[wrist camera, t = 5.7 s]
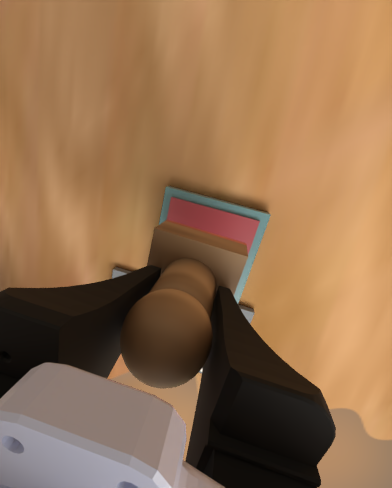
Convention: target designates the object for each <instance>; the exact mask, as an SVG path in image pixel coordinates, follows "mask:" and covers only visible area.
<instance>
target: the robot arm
mask: <svg viewBox="0 0 392 488" xmlns="http://www.w3.org/2000/svg"><path fill="white" fill-rule="evenodd" d="M160 273H161V268H159V267H156V266H153V265H149V266H146V267H144V268H141V269H139V270H136V271H133V272H131V273H128V274H125V275H122V276H119V277H115V278H112V279H109V280H105V281H101V282H96V283H91V284H85V285H77V286H70V287H58V288H7V289H5V290H3V291H1V292H0V488H317V487H319V486H320V485H321V479H320V476H319V473H318V469H317V464H318V462H319V461H320V460H321V459H322V457H323V456H324V454H325V453H326V452H327V450H328V449H329V448H330V446H331V445H332V442H333V440H334V438H335V430H336V428H335V425H334V422H333V419H332V416H331V414H330V411H329V409H328V406H327V404H326V401H325V399H324V397H323V395H322V393H321V391H320V389H319V388H318V387H316V386H315V385H314V384H312V383H311V382H310V381H308V380H307V379H306V378H304V377H303V376H302V375H300V374H299V373H298V372H296V371H295V370H294V369H293V368H292V367H290V366H289V365H288V364H287V363H286V362H285V361H283V360H282V359H281V358H280V357H279V356H278V355H277V354H276V353H275V352H274V351H273V350H272V349H271V348H270V347H269V346H268V345H267V344H266V343H265V342H264V341H263V340H262V339H261V337H260V336H259V335H258V334H257V332H256V331H255V330H254V329H253V327H252V326H251V325H250V323H249V322H248V320H247V319H246V317H245V316H244V314H243V313H242V311H241V309H240V307H239V306H238V304H237V302H236V300H235V298H234V296H233V294H232V292H231V290H230V289H229V288H226V287H223V286H219V287H218V290H217V293H216V296H215V300H214V303H213V309H212V315H211V320H210V321H211V326H212V334H213V338H212V347H211V351H210V354H209V356H208V359H207V361H206V363H205V364H204V366H203V370H202V378H201V384H200V389H199V395H198V400H197V406H196V411H195V416H194V422H193V427H192V431H191V436H190V442H189V446H188V451H187V457H186V461H183V455H184V450H185V443H186V424H185V422H184V421H183V419H182V418H181V417H180V415H179V414H178V413H177V411H176V410H175V409H174V407H173V406H172V405H171V404H169V403H167V402H165V401H164V400H162V399H160V398H158V397H157V396H155V395H152V394H150V393H147V392H144V391H141V390H138V389H135V388H132V387H130V386H127V385H124V384H121V383H118V382H115V381H112V380H110V379H107V378H108V376H109V374H110V372H111V370H112V368H113V366H114V365H115V363H116V361H117V359H118V357H119V356H120V354H121V348H120V335H121V329H122V325H123V322H124V320H125V318H126V315H127V314H128V312H129V311H130V309H131V308H132V307H133V305H134V304H135V303H136V302H137V301H138V300H140V299H141V298H142V297H144V296H145V295H147V294H148V293H149V292H150V290H151V289H152V287H153V286H154V285H155V283H156V282H157V281H158V279H159V278H160Z"/></svg>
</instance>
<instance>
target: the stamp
mask: <svg viewBox="0 0 392 488" xmlns="http://www.w3.org/2000/svg"><path fill="white" fill-rule="evenodd" d="M247 259H248V252H247V244H246V243H244V242H241V241H237V240H234V239H231V238H227V237H224V236H221V235H217V234H214V233H211V232H207V231H204V230H201V229H197V228H194V227H191V226H188V225H184V224H181V223H178V222H174V221H171V220H168V219H167V220H165V221H164V222H163V223H161V224H160V225H158V226H157V227H156V228H155V229H154V234H153V239H152V244H151V249H150V254H149V259H148V264H147V266H149V265H153V266H156V267H159V268H161V273H160V278H159V279H158V281H157V282H156V283H155V285H154V286H153V287H152V289H151V290H150V292H149V293H148V294H147V295H145V296H144V297H142V298H141V299H140V300H138V301H137V302H136V303H135V304H134V305H133V307H132V308H131V309H130V311H129V312H128V314H127V315H126V318H125V320H124V322H123V325H122V329H121V335H120V348H121V353H122V357H123V359H124V362H125V364H126V366H127V368H128V369H129V371H130V372H131V373H132V374H133V375H134V376H135V377H136V378H137V379H138V380H139V381H141V382H143V383H144V384H146V385H149V386H152V387H156V388H172V387H177V386H179V385H182V384H184V383H186V382H188V381H189V380H190V379H192V378H193V377H194V376H195V375H196V374H197V373H198V372H199V371H200V370H201V369H202V367H203V366H204V364H205V363H206V361H207V359H208V356H209V354H210V351H211V347H212V338H213V334H212V326H211V321H210V320H211V315H212V309H213V303H214V300H215V296H216V293H217V290H218V287H219V286H223V287H226V288H229V289H230V290H231V292H232V294H233V296H234V293H235V291H236V288H237V285H238V283H239V280H240V277H241V275H242V272H243V269H244V267H245V264H246V262H247Z"/></svg>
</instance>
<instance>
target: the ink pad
mask: <svg viewBox="0 0 392 488" xmlns="http://www.w3.org/2000/svg"><path fill="white" fill-rule="evenodd" d="M269 218H270V214H269V213H268V212H264V211H261V210H257V209H253V208H249V207H246V206H242V205H238V204H235V203H231V202H227V201H223V200H220V199H216V198H212V197H209V196H205V195H201V194H197V193H194V192H190V191H186V190H183V189H179V188H175V187H171V186H167V187H166V189H165V195H164V200H163V205H162V211H161V216H160V221H159V225H160V224H161V223H163V222H164V221H165V220H167V219H168V220H171V221H174V222H178V223H181V224H184V225H188V226H191V227H194V228H197V229H201V230H204V231H207V232H211V233H214V234H217V235H221V236H224V237H227V238H231V239H234V240H237V241H241V242H244V243H246V244H247V252H248V259H247V262H246V264H245V267H244V269H243V272H242V275H241V277H240V280H239V283H238V285H237V288H236V291H235V293H234V298H235V300H236V302H237V304H238V303H239V300H240V297H241V295H242V292H243V289H244V286H245V284H246V281H247V278H248V275H249V273H250V270H251V267H252V264H253V262H254V259H255V256H256V254H257V251H258V248H259V245H260V243H261V240H262V237H263V234H264V232H265V229H266V226H267V223H268V221H269Z"/></svg>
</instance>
